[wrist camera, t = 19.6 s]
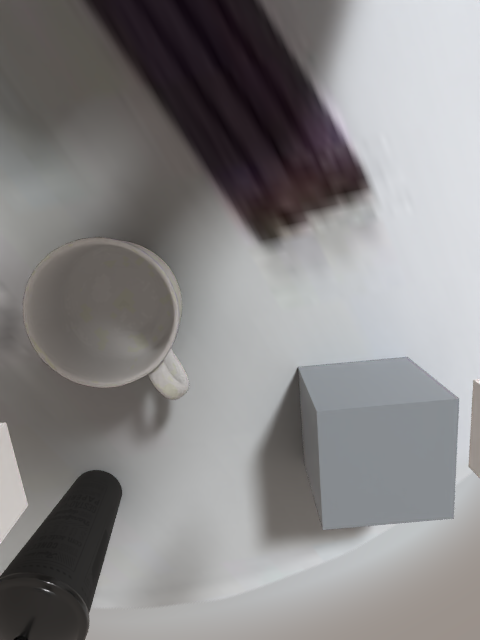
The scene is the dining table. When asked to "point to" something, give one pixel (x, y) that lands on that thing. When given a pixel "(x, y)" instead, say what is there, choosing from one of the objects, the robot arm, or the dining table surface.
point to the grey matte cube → (378, 442)
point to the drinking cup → (61, 565)
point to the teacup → (106, 315)
